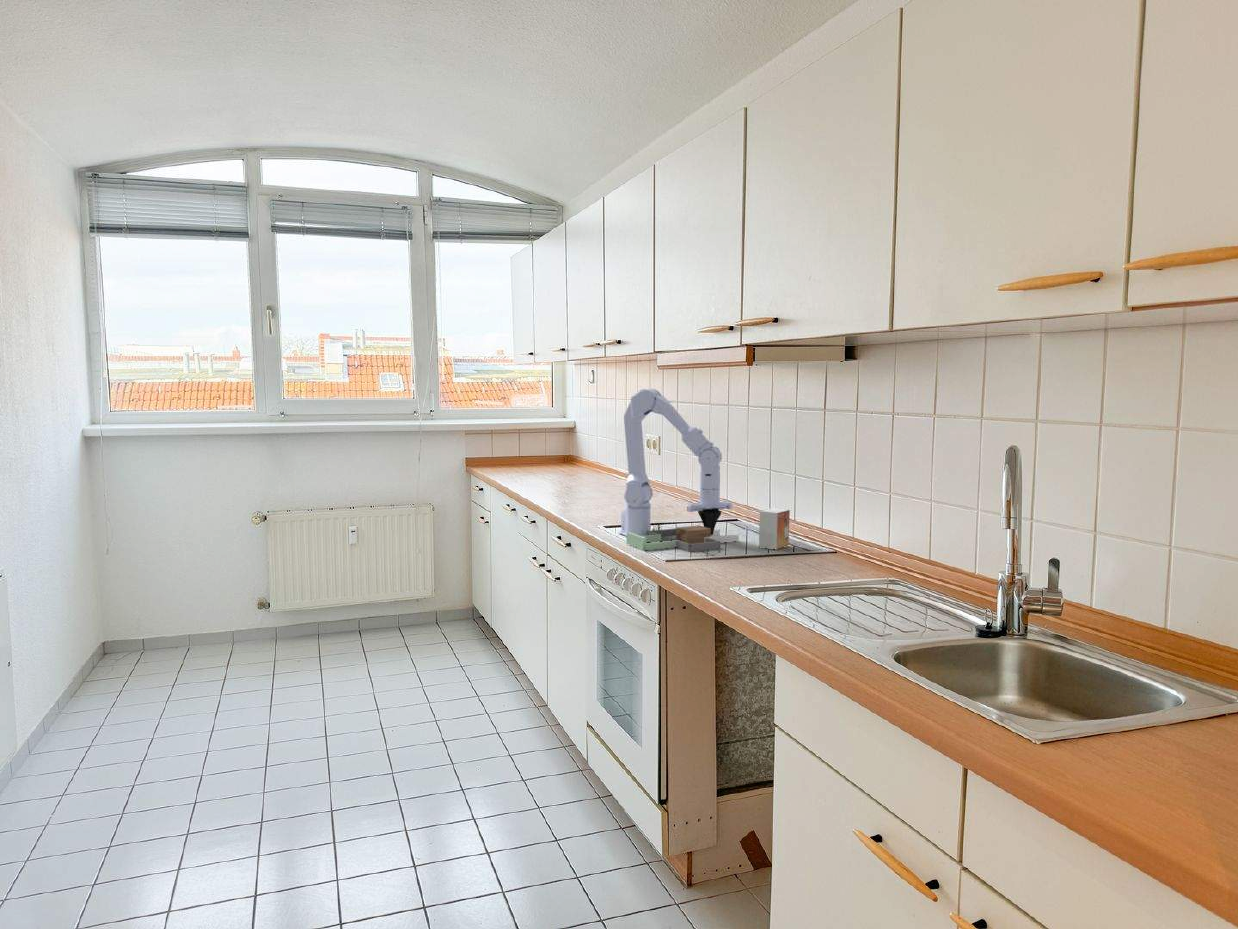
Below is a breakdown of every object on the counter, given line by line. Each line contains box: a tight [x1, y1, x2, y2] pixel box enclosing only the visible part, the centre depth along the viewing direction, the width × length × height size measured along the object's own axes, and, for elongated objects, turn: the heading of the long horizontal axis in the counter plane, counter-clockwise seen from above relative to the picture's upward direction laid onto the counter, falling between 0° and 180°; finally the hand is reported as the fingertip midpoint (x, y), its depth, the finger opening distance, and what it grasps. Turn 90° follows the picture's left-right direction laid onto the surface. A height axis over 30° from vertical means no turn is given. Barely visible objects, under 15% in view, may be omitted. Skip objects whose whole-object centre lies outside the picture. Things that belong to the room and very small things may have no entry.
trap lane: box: [626, 527, 739, 553], centre depth 243 cm, size 23×32×4 cm
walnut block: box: [675, 524, 711, 544], centre depth 245 cm, size 6×8×4 cm
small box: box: [758, 507, 791, 551], centre depth 237 cm, size 8×6×10 cm
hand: (709, 534), depth 247 cm, fingers closed
